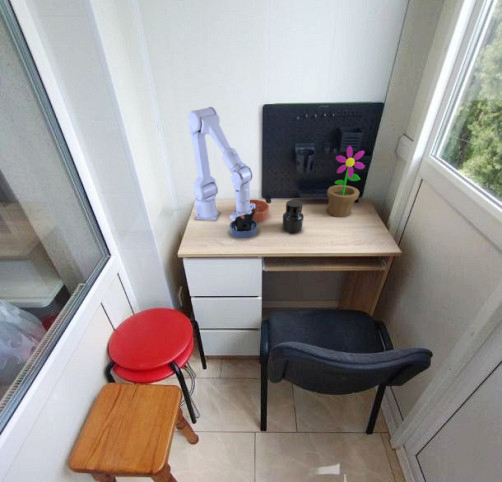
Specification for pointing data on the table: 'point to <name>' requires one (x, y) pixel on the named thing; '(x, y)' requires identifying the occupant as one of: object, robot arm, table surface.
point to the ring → (246, 227)
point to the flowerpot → (344, 186)
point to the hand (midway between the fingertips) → (243, 229)
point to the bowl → (260, 211)
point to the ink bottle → (293, 217)
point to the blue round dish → (244, 233)
